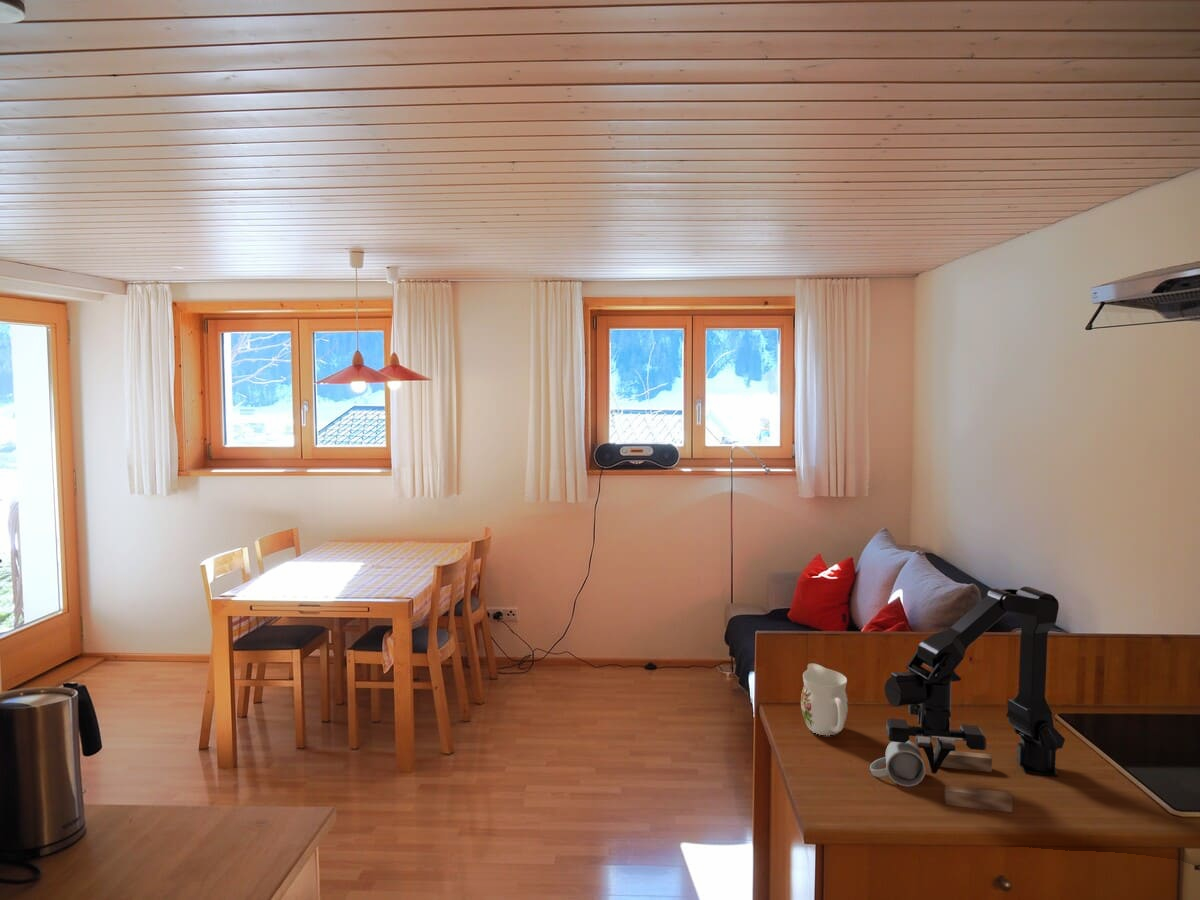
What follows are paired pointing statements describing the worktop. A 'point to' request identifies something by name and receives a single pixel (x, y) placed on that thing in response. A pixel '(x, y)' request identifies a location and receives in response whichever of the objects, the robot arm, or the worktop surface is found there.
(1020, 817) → the worktop surface
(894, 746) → the ceramic mug
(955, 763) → the mug dock
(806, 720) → the pitcher
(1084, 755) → the worktop surface
